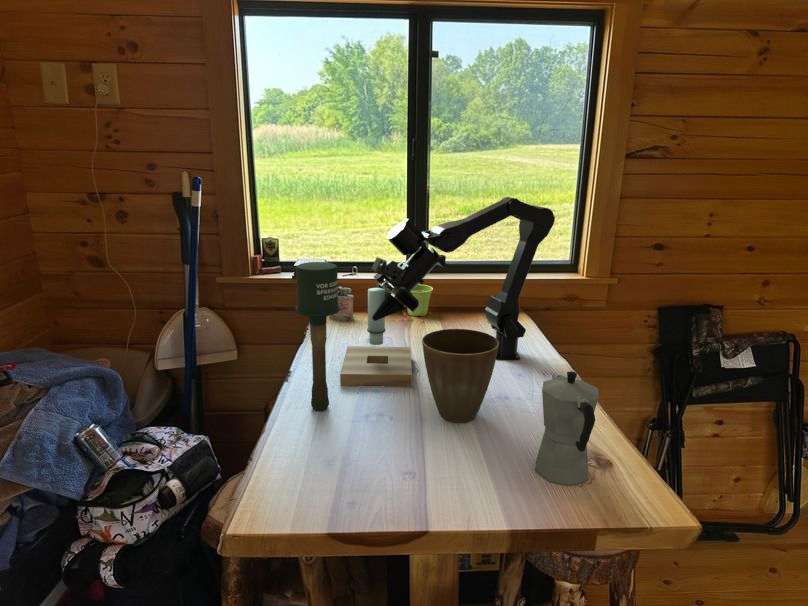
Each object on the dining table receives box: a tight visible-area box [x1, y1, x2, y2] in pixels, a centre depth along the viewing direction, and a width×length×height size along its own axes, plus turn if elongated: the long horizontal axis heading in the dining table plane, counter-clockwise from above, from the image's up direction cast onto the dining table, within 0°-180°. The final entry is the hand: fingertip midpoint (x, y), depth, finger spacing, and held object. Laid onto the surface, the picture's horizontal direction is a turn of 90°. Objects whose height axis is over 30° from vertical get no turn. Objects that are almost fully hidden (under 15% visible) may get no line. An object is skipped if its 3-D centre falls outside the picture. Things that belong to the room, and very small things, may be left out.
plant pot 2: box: [421, 328, 499, 424], centre depth 113 cm, size 15×15×16 cm
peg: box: [366, 287, 386, 346], centre depth 133 cm, size 4×4×13 cm
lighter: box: [328, 286, 355, 322], centre depth 175 cm, size 8×3×10 cm, turn 73°
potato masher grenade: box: [295, 261, 340, 412], centre depth 112 cm, size 8×9×30 cm
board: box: [339, 345, 413, 388], centre depth 135 cm, size 18×16×3 cm
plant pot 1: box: [406, 283, 434, 317], centre depth 181 cm, size 9×9×9 cm
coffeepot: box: [534, 370, 600, 486], centre depth 92 cm, size 15×9×18 cm, turn 6°
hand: (370, 316), depth 133 cm, fingers closed on peg, 4 cm apart
